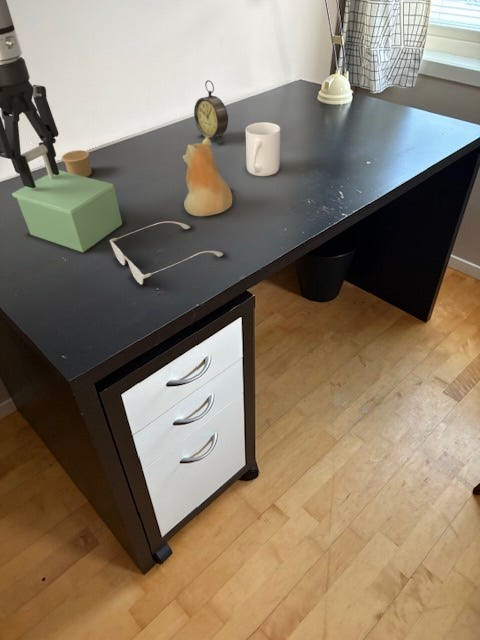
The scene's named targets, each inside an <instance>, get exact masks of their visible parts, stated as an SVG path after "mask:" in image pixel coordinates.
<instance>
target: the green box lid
mask: <svg viewBox="0 0 480 640" xmlns="http://www.w3.org/2000/svg"><path fill="white" fill-rule="evenodd" d="M47 152H48V150H47V147H46V146H45V145H43V144H42V145H40V146H39V145H38V146H36V147H34V148H31V149H29V150H27V151H25V152H23V153H22V154H21V156H25V157H26V160H27V163H28V166H29V169H30V172H31V175H32V178H33V180H34V183H35V186H36V187H35V188H30V187H26V186H24V187H21V188H20V189H17V190H16V191H14V192H12V193H11V195H12V197H13V198H16V199H17V198H19V199H22V200H25V201H28V202H32V203H35V204H38V205H42V206H45V207H48V208H52V209H55V210H58V211H61V212H65V213H68V214H73V213H75V212H76V211H78V210H79V209H81V208H83V207H84V206H86V205H87V204H89V203H90V202H92V201H94V200H95V199H97V198H98V197H100V196H101V195H103V194H105V193H106V192H108V191H109V190H111V189H112V188H114V189H115V185H114V183H110V182H106V181H103V180H99V179H95V178H91V177H88V176H87V177H83V176H79V175H76V174H72V173H68V171H64V170H60V169H58V170H59V175H54V174H53V173H52V170H51V167H50V164H49V160H48V157H47V154H46V153H47ZM39 157H42V160H43V162H44V163H43V164H44V166H45V168H46V172H47V174H46V175H44V176H42V177H40V178H38V179H36V180H35V178H34V176H33V174H32V171H31V168H30V165H29V163H30V162H33V161H34V160H35V159H38V158H39Z"/></svg>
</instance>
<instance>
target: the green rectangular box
mask: <svg viewBox="0 0 480 640" xmlns="http://www.w3.org/2000/svg"><path fill="white" fill-rule="evenodd" d="M16 200H17V203H18V205H19V208H20V211H21V213H22V216H23V218H24V221H25V223H26V226H27V229H28V232H29V234H30V236H33V237H35V238H40V239H42V240H45V241H48V242H50V243H54V244H57V245H60V246H63V247H66V248H68V249H71V250H75V251H78V252H81V253H84V252H86V251H87V250H89V249H90V248H91V247H93V246H94V245H96V244H97V243H98V242H100V241H101V240H103V239H104V238H106V237H107V236H108V235H110V234H111V233H112V232H114V231H116V230H117V229H118V228H119V227H120V226H122V225H123V220H122V217H121V213H120V208H119V203H118V198H117V196H116V190H115V187H114V188H112V189H111V190H109V191H108V192H106V193H105V194H103V195H101V196H100V197H98V198H97V199H95V200H94V201H92V202H90V203H89V204H87V205H86V206H84V207H83V208H81V209H79V210H78V211H76V212H75V213H73V214H68V213H65V212H61V211H58V210H55V209H52V208H48V207H45V206H42V205H38V204H35V203H32V202H28V201H25V200H22V199H19V198H16Z"/></svg>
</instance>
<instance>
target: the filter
mask: <svg viewBox="0 0 480 640" xmlns="http://www.w3.org/2000/svg"><path fill="white" fill-rule="evenodd" d="M89 158H90V153H89V152H88V151H86V150H80V149H79V150H72V151H69V152H66V153H64V154H63V155H62V156H61V160H62V162H64V165H65V168H66V172H68V173H72V174H76V175H79V176H83V177H87V178H88V177H89V176H91V174H93V173H92V167H91V164H90V160H89Z"/></svg>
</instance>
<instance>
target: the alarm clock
mask: <svg viewBox="0 0 480 640" xmlns="http://www.w3.org/2000/svg"><path fill="white" fill-rule="evenodd" d="M208 82H209V83H210V84H211V86H212V91H211V90H209V89H208V87H207V83H208ZM204 86H205V89H206V91H207V93H208V95H207V96H203V97H200V98H199V99H197V100H196V102H195V105H194V108H193V109H194V110H193V116H194V122H195V126H196V127H197V129H198V131H199V133H200V134H201V135H200V137H201V138H202V137H205V138H206V137H208V138H209V139H210V140H211V139H214V138H216V139H217V141H218V143H219V144H220V145H222V141H221V136H222V135H224V134H225V133H226V131H227V129H228V125H229V115H228V110H227V107H226V105H225V103H224V102H223V100H222V99H220V97H218V96H217V95H212V94H213V93H214V91H215V86H214V83H213V82H212V81H211V80H209V79H207V80H206V81H205V84H204Z"/></svg>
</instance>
